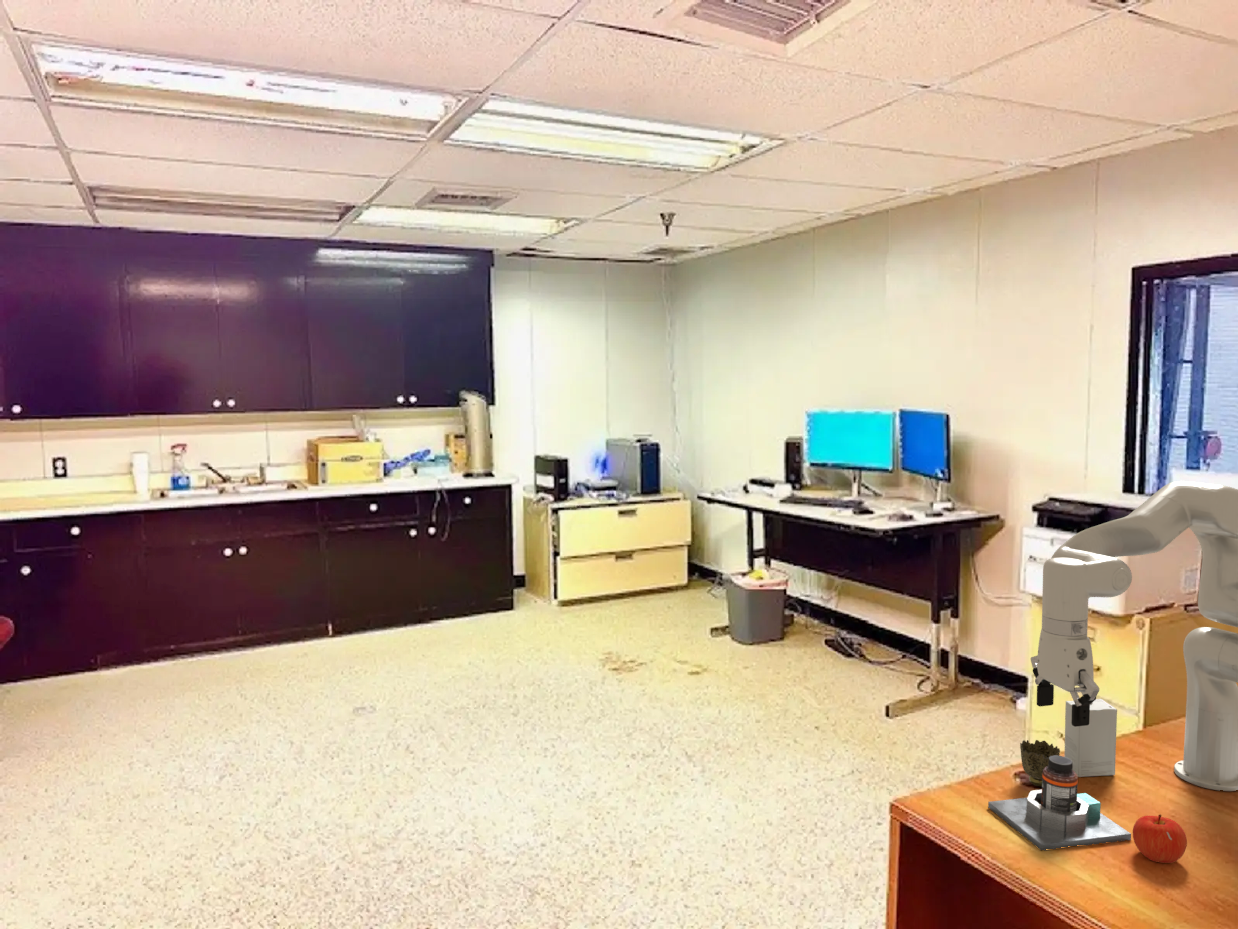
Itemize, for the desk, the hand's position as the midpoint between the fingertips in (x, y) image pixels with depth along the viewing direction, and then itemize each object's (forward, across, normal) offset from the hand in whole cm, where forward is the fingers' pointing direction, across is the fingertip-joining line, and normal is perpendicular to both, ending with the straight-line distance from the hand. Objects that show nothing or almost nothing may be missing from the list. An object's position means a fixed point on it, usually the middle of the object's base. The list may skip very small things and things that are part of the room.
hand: (1062, 715), depth 163 cm
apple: (+21, -14, -9) cm, 27 cm away
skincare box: (+22, +18, -20) cm, 35 cm away
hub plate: (+21, 0, +1) cm, 21 cm away
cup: (+21, +15, -6) cm, 27 cm away
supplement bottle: (+20, 0, 0) cm, 20 cm away
